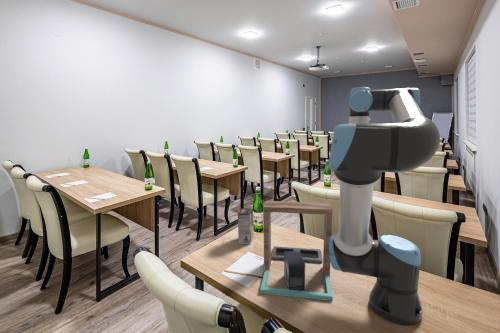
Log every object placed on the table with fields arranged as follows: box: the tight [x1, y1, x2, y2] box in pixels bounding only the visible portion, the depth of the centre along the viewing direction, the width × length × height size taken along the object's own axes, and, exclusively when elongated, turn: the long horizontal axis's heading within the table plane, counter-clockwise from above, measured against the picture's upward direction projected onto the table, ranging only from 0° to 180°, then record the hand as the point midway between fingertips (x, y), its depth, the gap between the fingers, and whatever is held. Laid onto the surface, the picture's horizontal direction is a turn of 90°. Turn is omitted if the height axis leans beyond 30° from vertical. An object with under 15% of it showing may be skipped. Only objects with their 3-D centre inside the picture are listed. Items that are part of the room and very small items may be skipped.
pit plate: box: [271, 246, 323, 264], centre depth 122 cm, size 10×22×1 cm, turn 79°
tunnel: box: [262, 200, 333, 279], centre depth 108 cm, size 8×26×28 cm, turn 79°
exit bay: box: [259, 270, 334, 302], centre depth 100 cm, size 13×25×2 cm, turn 79°
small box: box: [283, 251, 306, 291], centre depth 101 cm, size 11×6×10 cm, turn 2°
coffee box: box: [237, 207, 255, 245], centre depth 137 cm, size 9×6×16 cm
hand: (355, 183), depth 112 cm, fingers closed
